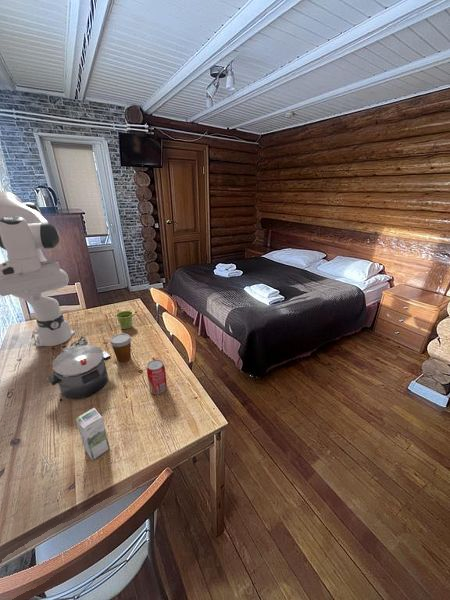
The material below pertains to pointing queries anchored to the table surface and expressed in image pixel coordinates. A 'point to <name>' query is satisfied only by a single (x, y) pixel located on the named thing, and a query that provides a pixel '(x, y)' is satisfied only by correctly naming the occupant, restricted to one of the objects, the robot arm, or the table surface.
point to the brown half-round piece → (80, 342)
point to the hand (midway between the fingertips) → (36, 299)
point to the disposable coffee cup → (121, 347)
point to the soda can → (156, 376)
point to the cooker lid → (77, 360)
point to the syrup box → (93, 433)
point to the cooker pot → (82, 382)
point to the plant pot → (125, 319)
